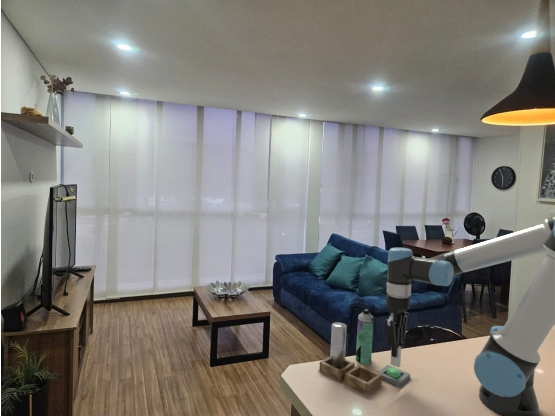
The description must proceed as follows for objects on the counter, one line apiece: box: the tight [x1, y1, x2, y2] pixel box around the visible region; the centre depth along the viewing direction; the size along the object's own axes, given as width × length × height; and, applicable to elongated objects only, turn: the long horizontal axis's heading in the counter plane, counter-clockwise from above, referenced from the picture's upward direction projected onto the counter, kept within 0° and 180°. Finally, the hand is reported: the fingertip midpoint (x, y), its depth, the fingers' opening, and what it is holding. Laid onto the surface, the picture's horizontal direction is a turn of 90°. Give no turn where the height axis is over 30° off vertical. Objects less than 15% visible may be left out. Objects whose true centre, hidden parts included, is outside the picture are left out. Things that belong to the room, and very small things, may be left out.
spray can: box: [355, 308, 375, 365], centre depth 128 cm, size 6×6×20 cm
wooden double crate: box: [317, 356, 384, 396], centre depth 117 cm, size 19×10×4 cm, turn 46°
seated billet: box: [329, 321, 348, 369], centre depth 120 cm, size 5×5×16 cm
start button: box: [386, 366, 401, 379], centre depth 118 cm, size 4×4×3 cm
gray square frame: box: [377, 364, 411, 388], centre depth 118 cm, size 8×8×2 cm
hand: (395, 365), depth 117 cm, fingers closed
